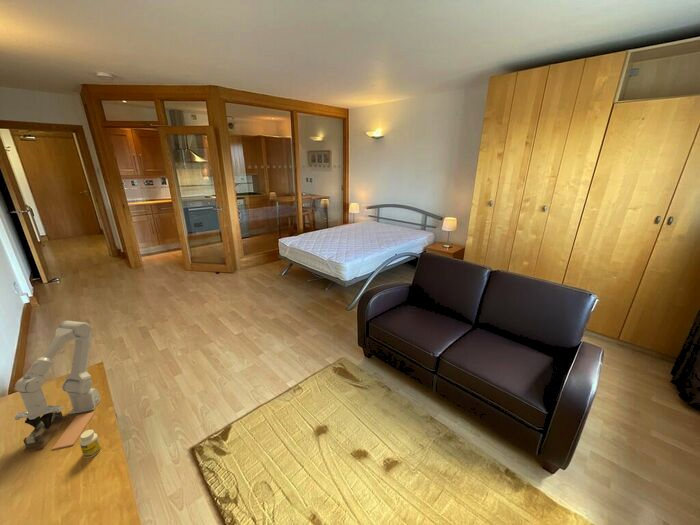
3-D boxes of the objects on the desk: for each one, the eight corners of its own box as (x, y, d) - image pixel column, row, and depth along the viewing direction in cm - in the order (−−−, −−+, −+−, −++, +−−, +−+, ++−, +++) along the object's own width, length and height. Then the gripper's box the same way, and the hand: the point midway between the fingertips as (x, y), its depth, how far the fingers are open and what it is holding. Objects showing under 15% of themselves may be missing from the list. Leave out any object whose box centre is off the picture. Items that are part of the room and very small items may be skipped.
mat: (95, 412, 134) (94, 411, 134) (73, 445, 118) (73, 444, 118) (76, 416, 132) (76, 415, 132) (52, 450, 116) (51, 448, 116)
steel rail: (52, 413, 129) (51, 409, 128) (59, 412, 129) (57, 408, 129) (27, 443, 114) (25, 439, 113) (34, 442, 115) (33, 437, 114)
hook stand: (50, 420, 129) (47, 411, 128) (66, 417, 131) (63, 408, 130) (23, 453, 114) (19, 443, 113) (42, 449, 116) (38, 439, 114)
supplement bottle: (81, 460, 112) (75, 441, 109) (86, 449, 116) (80, 430, 114) (99, 455, 114) (93, 436, 112) (102, 444, 119) (97, 425, 116)
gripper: (4, 413, 112) (15, 440, 116) (51, 405, 117) (59, 431, 120) (18, 400, 118) (27, 426, 122) (61, 393, 123) (69, 418, 127)
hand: (44, 427), depth 122 cm, fingers closed on steel rail, 2 cm apart
